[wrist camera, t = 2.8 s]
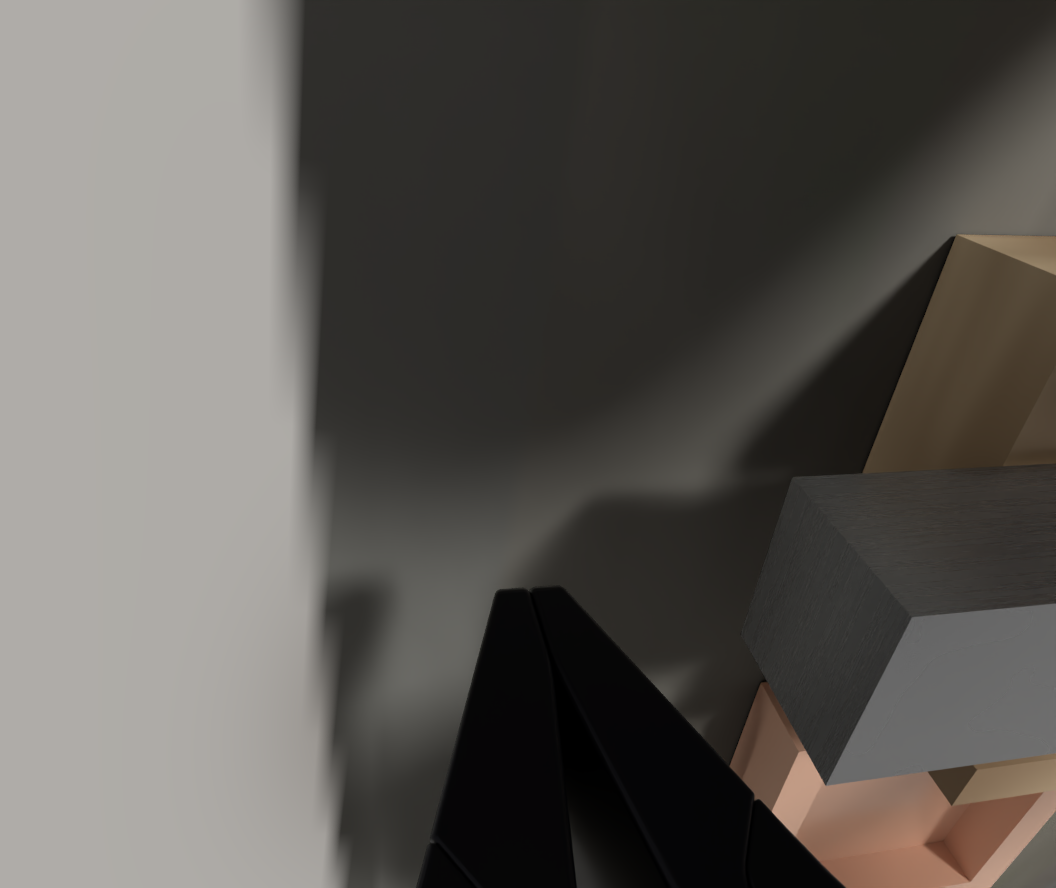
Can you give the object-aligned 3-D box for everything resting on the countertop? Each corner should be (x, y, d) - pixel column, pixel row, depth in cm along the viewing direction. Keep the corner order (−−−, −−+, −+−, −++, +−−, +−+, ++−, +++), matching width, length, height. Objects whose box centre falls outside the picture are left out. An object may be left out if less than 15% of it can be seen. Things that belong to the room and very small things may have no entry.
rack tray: (1080, 647, 18) (1144, 706, 16) (945, 834, 23) (985, 893, 21) (760, 682, 16) (798, 751, 15) (688, 876, 21) (712, 943, 19)
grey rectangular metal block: (1161, 458, 10) (1359, 574, 8) (1063, 603, 12) (1208, 731, 10) (791, 477, 9) (911, 617, 7) (740, 634, 11) (825, 786, 9)
